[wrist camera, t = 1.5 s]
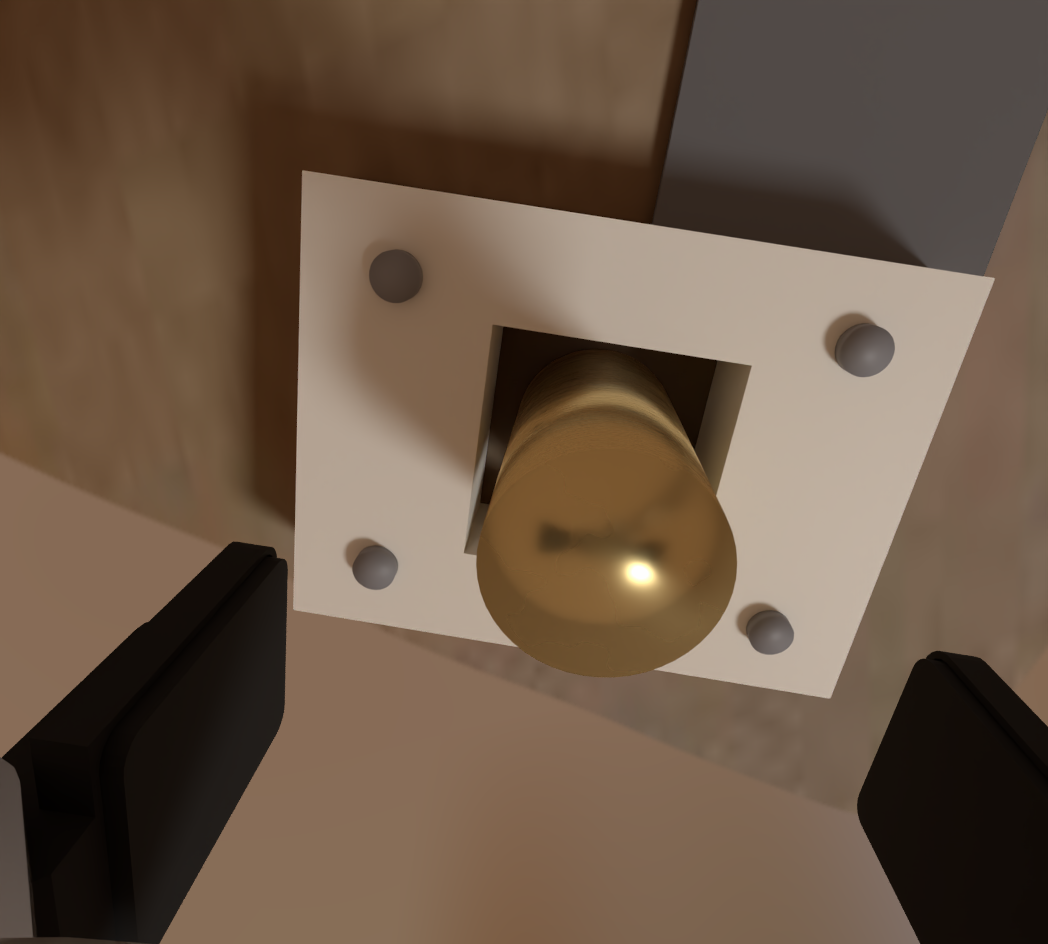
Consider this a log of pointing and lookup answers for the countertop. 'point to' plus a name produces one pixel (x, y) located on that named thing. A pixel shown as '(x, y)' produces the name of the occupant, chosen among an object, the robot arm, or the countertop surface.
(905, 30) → the mat
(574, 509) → the brass domed cylinder
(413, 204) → the plate
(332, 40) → the countertop surface
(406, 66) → the countertop surface
